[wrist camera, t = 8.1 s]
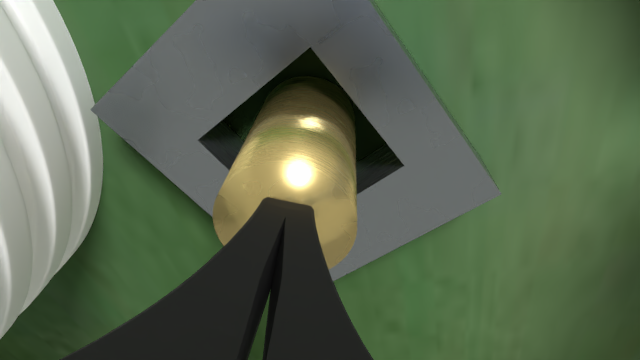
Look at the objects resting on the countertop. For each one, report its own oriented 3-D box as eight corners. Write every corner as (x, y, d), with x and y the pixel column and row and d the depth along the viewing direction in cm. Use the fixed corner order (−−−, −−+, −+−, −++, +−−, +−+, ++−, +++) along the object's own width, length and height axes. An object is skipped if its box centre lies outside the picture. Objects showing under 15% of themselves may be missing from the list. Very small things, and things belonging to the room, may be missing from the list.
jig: (483, 161, 17) (501, 194, 15) (307, 259, 21) (303, 296, 19) (305, -100, 13) (297, -105, 11) (123, 86, 17) (90, 109, 14)
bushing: (375, 115, 16) (387, 218, 11) (317, 178, 18) (301, 296, 12) (296, 55, 15) (262, 133, 9) (244, 128, 17) (187, 232, 11)
